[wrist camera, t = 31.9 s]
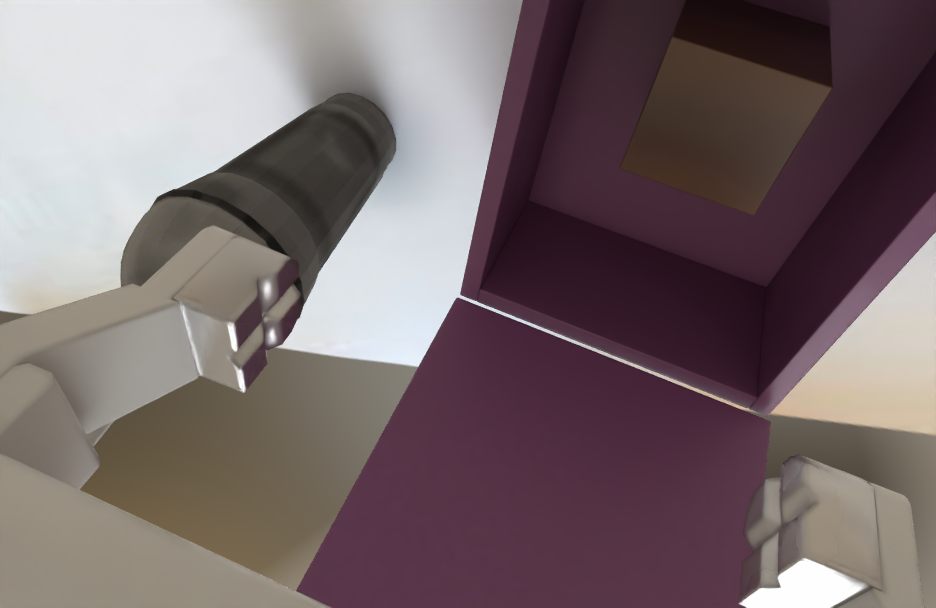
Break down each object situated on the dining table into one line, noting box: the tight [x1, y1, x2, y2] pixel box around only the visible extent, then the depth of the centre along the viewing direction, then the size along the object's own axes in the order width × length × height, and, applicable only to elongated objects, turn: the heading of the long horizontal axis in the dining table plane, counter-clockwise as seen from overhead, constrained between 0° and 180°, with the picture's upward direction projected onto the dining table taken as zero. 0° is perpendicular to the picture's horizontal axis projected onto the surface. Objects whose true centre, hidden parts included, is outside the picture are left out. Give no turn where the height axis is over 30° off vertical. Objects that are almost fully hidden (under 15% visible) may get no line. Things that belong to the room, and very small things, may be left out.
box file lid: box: [296, 298, 771, 608], centre depth 23 cm, size 18×14×5 cm
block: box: [620, 0, 833, 215], centre depth 23 cm, size 5×5×5 cm
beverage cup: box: [87, 93, 396, 447], centre depth 28 cm, size 7×7×20 cm
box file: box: [460, 0, 936, 416], centre depth 24 cm, size 17×14×8 cm
